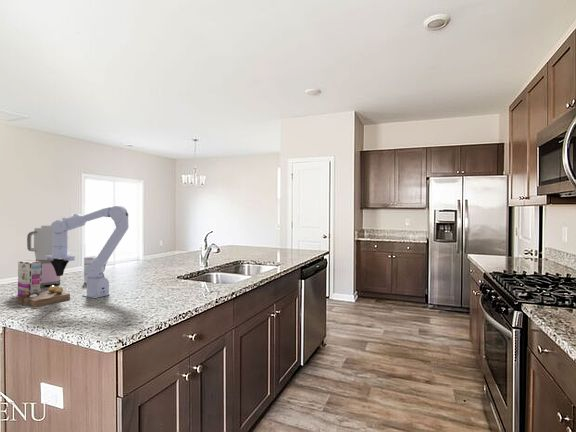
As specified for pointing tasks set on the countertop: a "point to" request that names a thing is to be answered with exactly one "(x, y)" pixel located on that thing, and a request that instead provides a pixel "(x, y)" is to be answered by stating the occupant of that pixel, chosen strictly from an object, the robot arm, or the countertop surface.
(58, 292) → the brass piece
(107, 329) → the countertop surface
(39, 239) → the blender
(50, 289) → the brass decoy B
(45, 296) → the brown square tray
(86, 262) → the syrup box
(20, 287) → the candy bar box
